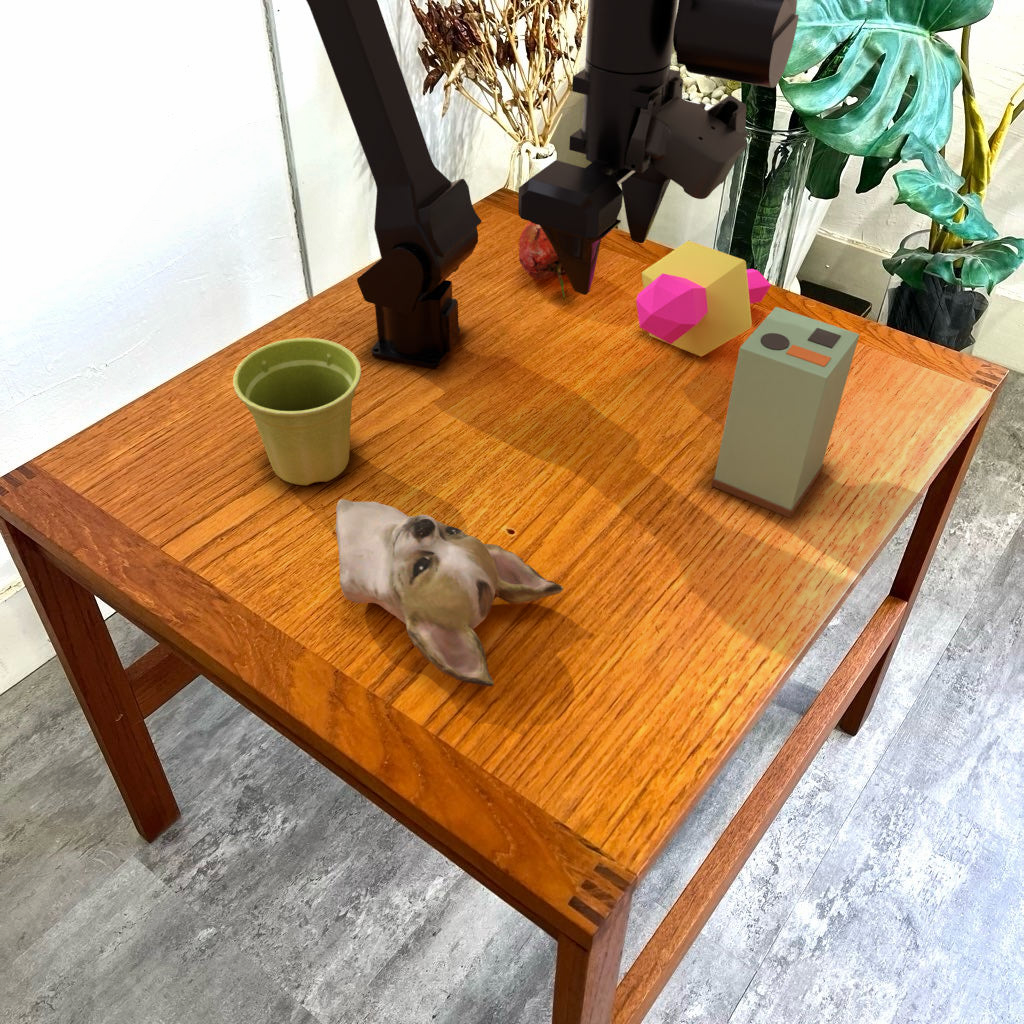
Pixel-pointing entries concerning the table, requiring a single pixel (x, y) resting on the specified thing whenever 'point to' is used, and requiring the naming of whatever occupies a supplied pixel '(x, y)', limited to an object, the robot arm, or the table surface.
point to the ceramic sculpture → (431, 581)
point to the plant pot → (301, 405)
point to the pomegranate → (539, 254)
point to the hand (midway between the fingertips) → (610, 266)
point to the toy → (698, 298)
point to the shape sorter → (783, 409)
